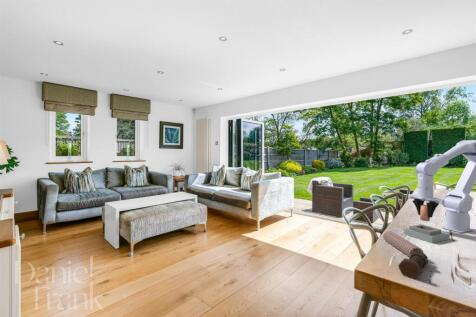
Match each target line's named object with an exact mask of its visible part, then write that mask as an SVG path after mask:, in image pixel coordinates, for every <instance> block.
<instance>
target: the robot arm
mask: <svg viewBox="0 0 476 317" xmlns="http://www.w3.org/2000/svg"><path fill="white" fill-rule="evenodd" d="M460 155H461V156H463V157H464V158H465V159H466V160H467V163H466V165H465V167H464V169H463V171H462V173H461V176H460V177H459V179H458V181H457V184H455V187H454V189H453V190H450V191H448V192H447V193H446V195H445V196H443V197H442V198H439V197H434V180H435V179H434V177H435V175H436V174H437V172H438V170H439V169H441V168H443V167H444V166H446V165H448V164H449V162H450V160H451V159H454V158H456V157H458V156H460ZM414 171H415V173H416V175H417V183H418V184H417V194H413V193H412V194H411V193H410V194H409V193H408V196H407V198H408V199H413V200H412V203H413V204H414V207H415V208H416V211H417V215H418V216H420V205H427V209H428V217H429V218H430V219H431V218H433V216H434V214H435V213H434V212H435V210H436V209H437V207H438V206H439V205H442V206H443V208H444V210H445V225H443V226H440V227H441V228H442V229H445V230H449V231H453V232H457V233H461V234H463V233H466V232H471V231H473V229H472V228H471V216H470V214H469V212H470V211H471V210H472V207H473V203H474V199H473V197H472V196H471V195H470V194H471V192H472V189H473V187H475V184H476V139H467V140H465V139H463V140H460V141H459V142H456V144H455V146H453V147H452V148H450V149H448V150H447V151H446V152H443V153H435V154H434V155H433V156H432V157H430V158H429V159H426V160H425V161H424V162H419V163H418V164H417V165H415V168H414ZM425 202H426V204H425Z"/></svg>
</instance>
